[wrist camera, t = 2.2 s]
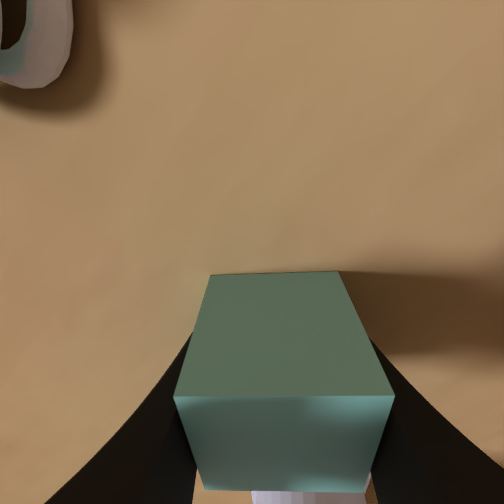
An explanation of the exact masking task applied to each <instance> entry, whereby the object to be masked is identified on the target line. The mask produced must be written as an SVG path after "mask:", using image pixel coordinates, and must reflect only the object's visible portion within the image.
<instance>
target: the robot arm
mask: <svg viewBox="0 0 504 504" xmlns="http://www.w3.org/2000/svg"><path fill="white" fill-rule="evenodd" d="M192 334H193V332H192V333H191V335H190V337H189V338H188V340H187V341H186V343H185V344H184V346H183V348H182V349H181V351H180V352H179V354H178V355H177V356H176V358H175V359H174V361H173V362H172V364H171V365H170V366H169V368H168V369H167V371H166V372H165V373H164V375H163V376H162V378H161V379H160V380H159V382H158V383H157V384H156V386H155V387H154V388H153V389H152V391H151V392H150V393H149V394H148V396H147V397H146V398H145V400H144V401H143V402H142V403H141V405H140V406H139V407H138V408H137V409H136V411H135V412H134V413H133V414H132V415H131V416H130V418H129V419H128V420H127V421H126V422H125V423H124V424H123V426H122V427H121V428H120V429H119V430H118V431H117V432H116V433H115V434H114V436H113V437H112V438H111V439H110V440H109V441H108V442H107V443H106V444H105V445H104V446H103V447H102V448H101V449H100V450H99V451H98V452H97V453H96V454H95V455H94V457H93V458H92V459H91V460H90V461H89V462H88V463H87V464H86V465H85V466H84V467H83V468H82V469H81V470H80V471H79V472H77V473H76V474H75V475H74V476H73V477H72V478H71V479H70V480H69V481H68V482H67V483H66V484H65V485H64V486H63V487H62V488H60V489H59V490H58V491H57V492H56V493H55V494H54V495H53V496H52V497H51V498H50V499H49V500H48V501H47V502H45V503H44V504H192V500H193V493H194V485H195V478H196V472H197V465H196V462H195V459H194V456H193V453H192V450H191V447H190V444H189V442H188V439H187V436H186V433H185V430H184V427H183V424H182V421H181V418H180V415H179V412H178V409H177V406H176V404H175V401H174V398H173V396H174V392H175V389H176V386H177V383H178V379H179V376H180V373H181V370H182V366H183V363H184V360H185V357H186V353H187V350H188V347H189V344H190V340H191V337H192ZM368 338H369V337H368ZM369 340H370V342H371V344H372V347H373V349H374V351H375V353H376V355H377V357H378V360H379V362H380V364H381V366H382V368H383V370H384V373H385V375H386V377H387V379H388V381H389V383H390V386H391V388H392V390H393V392H394V394H395V398H394V401H393V404H392V407H391V410H390V413H389V416H388V419H387V422H386V425H385V428H384V431H383V434H382V437H381V440H380V443H379V446H378V449H377V452H376V454H375V457H374V460H373V463H372V466H371V469H370V472H369V475H368V478H367V481H366V484H365V487H364V490H363V493H349V492H289V491H251V493H252V500H253V504H367V502H366V499H365V493H366V490H367V487H368V484H369V481H370V479H371V476H372V480H373V484H374V488H375V492H376V496H377V500H378V504H504V469H503V468H502V467H501V466H500V465H498V464H497V463H496V462H495V461H493V460H492V459H491V458H490V457H489V456H487V455H486V454H485V453H484V452H483V451H482V450H480V449H479V448H478V447H477V446H476V445H475V444H473V443H472V442H471V441H470V440H469V439H468V438H466V437H465V436H464V435H463V434H462V433H461V432H460V431H459V430H458V429H456V428H455V427H454V426H453V425H452V424H451V423H450V422H449V421H448V420H447V419H445V418H444V417H443V416H442V415H441V414H440V413H439V412H438V411H437V410H436V409H435V408H434V407H433V406H432V405H431V404H430V403H429V402H428V401H427V400H426V399H425V398H424V397H423V396H422V395H421V394H420V393H419V392H418V391H417V390H416V389H415V388H414V387H413V386H412V385H411V384H410V383H409V382H408V381H407V380H406V379H405V378H404V376H403V375H402V374H401V373H400V372H399V371H398V370H397V369H396V368H395V367H394V366H393V365H392V363H391V362H390V361H389V360H388V359H387V358H386V357H385V355H384V354H383V353H382V352H381V351H380V350H379V349H378V347H377V346H376V345H375V344H374V343H373V342H372V340H371V339H370V338H369Z"/></svg>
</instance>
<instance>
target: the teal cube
mask: <svg viewBox="0 0 504 504" xmlns="http://www.w3.org/2000/svg"><path fill="white" fill-rule="evenodd" d="M173 398H174V401H175V404H176V406H177V409H178V412H179V415H180V418H181V421H182V424H183V427H184V430H185V433H186V436H187V439H188V442H189V444H190V447H191V450H192V453H193V456H194V459H195V462H196V465H197V468H198V471H199V474H200V477H201V480H202V482H203V485H204V488H205V490H230V491H289V492H349V493H363V490H364V487H365V484H366V481H367V478H368V475H369V472H370V469H371V466H372V463H373V460H374V457H375V454H376V452H377V449H378V446H379V443H380V440H381V437H382V434H383V431H384V428H385V425H386V422H387V419H388V416H389V413H390V410H391V407H392V404H393V401H394V398H395V394H394V392H393V390H392V388H391V386H390V383H389V381H388V379H387V377H386V375H385V373H384V370H383V368H382V366H381V364H380V362H379V360H378V357H377V355H376V353H375V351H374V349H373V347H372V344H371V342H370V340H369V338H368V336H367V334H366V331H365V329H364V327H363V325H362V323H361V321H360V318H359V316H358V314H357V312H356V310H355V308H354V305H353V303H352V301H351V299H350V297H349V295H348V292H347V290H346V288H345V286H344V284H343V282H342V279H341V277H340V275H339V273H338V271H328V272H298V273H267V274H236V275H210V278H209V282H208V285H207V288H206V291H205V295H204V298H203V301H202V304H201V308H200V311H199V314H198V317H197V321H196V324H195V327H194V331H193V334H192V337H191V340H190V344H189V347H188V350H187V353H186V357H185V360H184V363H183V366H182V370H181V373H180V376H179V379H178V383H177V386H176V389H175V392H174V396H173Z"/></svg>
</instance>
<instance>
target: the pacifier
mask: <svg viewBox="0 0 504 504" xmlns="http://www.w3.org/2000/svg"><path fill="white" fill-rule="evenodd" d="M73 28H74V23H73V9H72V0H27V10H26V25H25V27H24V30H23V32H22V35H21V37H20V40H19V41H18V42H17V43H16V44H14V45H13V46H12V47H10V48H9V49H6V50H2V49H0V81H2V82H5V83H8V84H11V85H14V86H16V87H19V88H22V89H28V88H43V87H45V86H46V85H48V84H49V83H51V82H52V81H54V80H55V79H57V78H58V77H59V75H60V74H61V72H62V70H63V68H64V66H65V64H66V62H67V60H68V58H69V56H70V49H71V42H72V35H73ZM1 38H2V8H1V0H0V47H1Z"/></svg>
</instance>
